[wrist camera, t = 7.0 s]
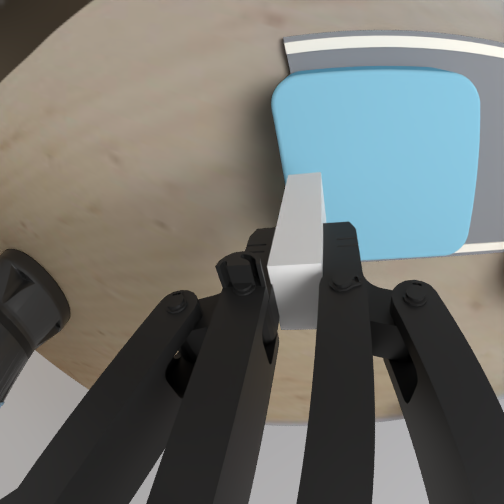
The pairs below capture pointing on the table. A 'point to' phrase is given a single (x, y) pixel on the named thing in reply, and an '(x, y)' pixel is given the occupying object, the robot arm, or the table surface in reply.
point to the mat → (441, 57)
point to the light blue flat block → (386, 152)
